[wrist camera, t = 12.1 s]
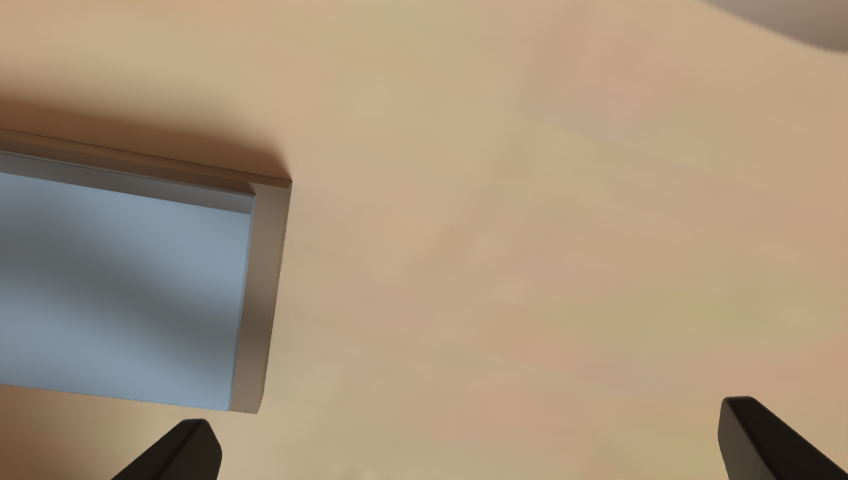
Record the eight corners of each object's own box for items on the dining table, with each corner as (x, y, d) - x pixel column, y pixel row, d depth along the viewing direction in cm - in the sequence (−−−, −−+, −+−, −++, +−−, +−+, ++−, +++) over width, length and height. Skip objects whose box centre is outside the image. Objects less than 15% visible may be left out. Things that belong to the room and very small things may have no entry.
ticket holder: (262, 396, 23) (253, 425, 21) (-63, 355, 21) (-104, 383, 19) (292, 181, 20) (284, 193, 18) (-78, 115, 18) (-126, 121, 17)
